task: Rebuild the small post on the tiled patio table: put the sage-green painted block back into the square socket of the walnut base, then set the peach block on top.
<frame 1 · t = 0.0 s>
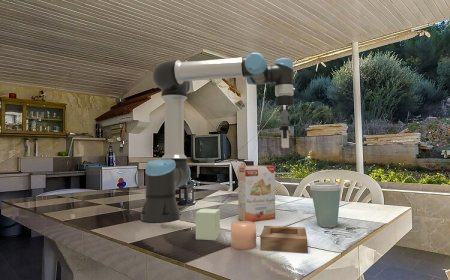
hand: (285, 147, 118), 28 cm above the table, tool pointing down, fingers open, 13 cm apart
walnut base: (284, 244, 80), on the table
disposable coffee cup: (326, 225, 101), on the table
peach block: (243, 245, 80), on the table
sage block: (208, 237, 88), on the table
cracker box: (257, 219, 112), on the table
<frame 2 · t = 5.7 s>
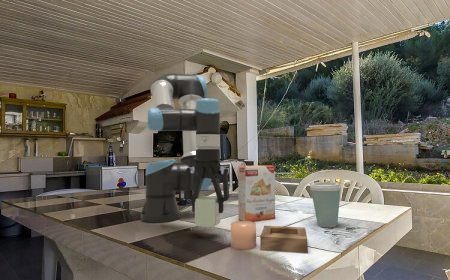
hand: (207, 222, 89), 4 cm above the table, tool pointing down, fingers closed on sage block, 6 cm apart
sage block: (207, 223, 89), point 4 cm above the table, touching gripper
everything else where it was.
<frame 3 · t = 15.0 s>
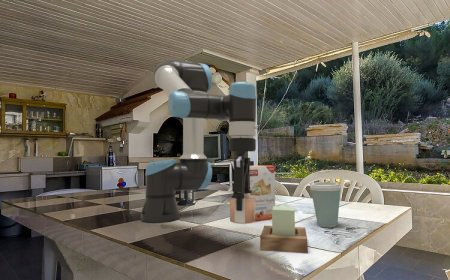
hand: (242, 218, 81), 7 cm above the table, tool pointing down, fingers closed on peach block, 7 cm apart
peach block: (242, 220, 81), point 7 cm above the table, touching gripper
sage block: (284, 237, 80), point 2 cm above the table, touching walnut base
everything else where it was.
when the fingers open (11 cm above the table, at t = 17.6 s): peach block stays where it is, resting on sage block.
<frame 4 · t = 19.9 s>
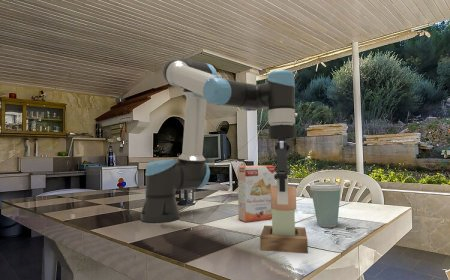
hand: (283, 200, 81), 12 cm above the table, tool pointing down, fingers open, 13 cm apart
peach block: (283, 208, 81), point 10 cm above the table, touching sage block
sage block: (284, 237, 80), point 2 cm above the table, touching peach block, walnut base
everything else where it was.
at the end: sage block 0.1 cm off-centre on the walnut base, point 2.0 cm above the walnut base's base; sage block tilted 0°; peach block 0.0 cm off-centre on the sage block, point 8.0 cm above the sage block's base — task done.
